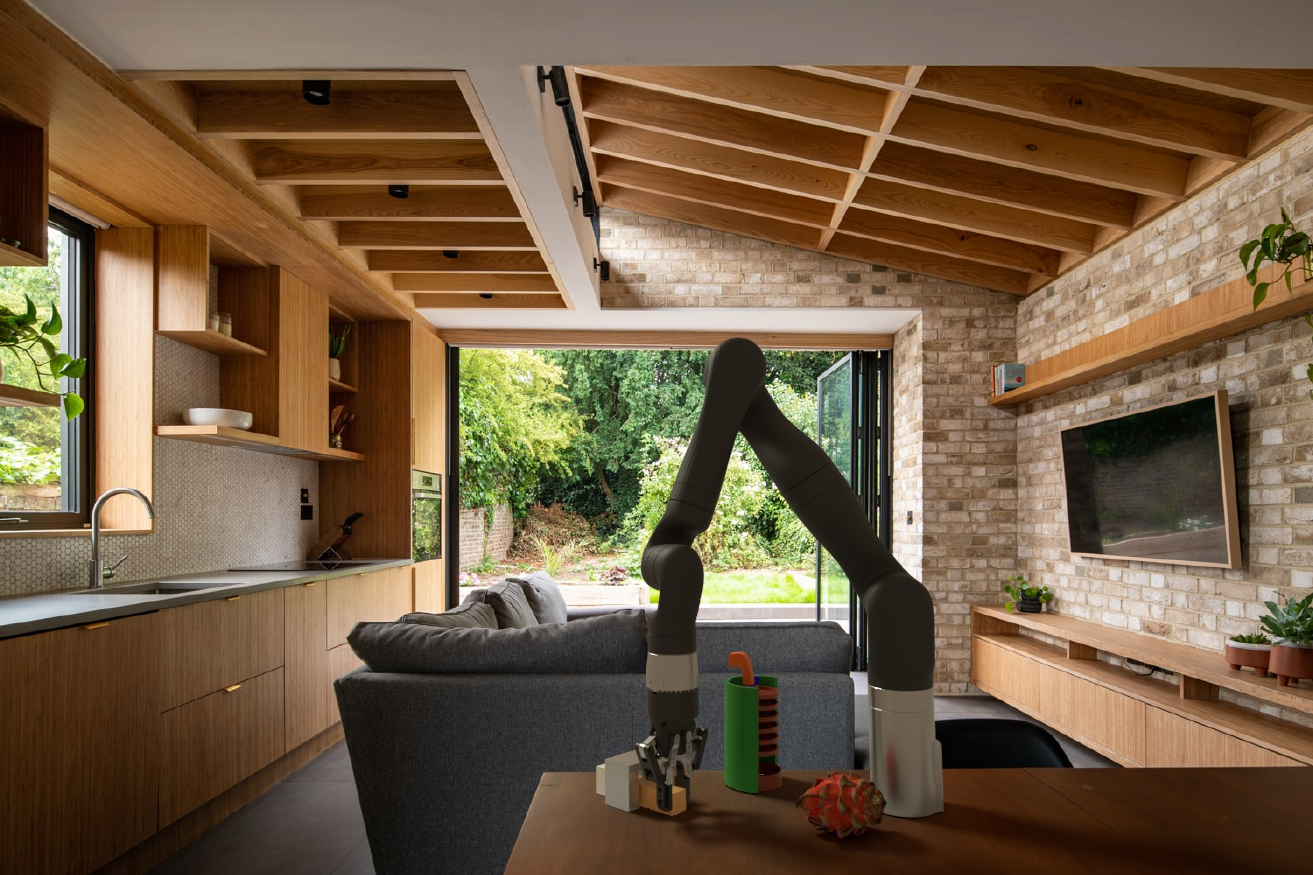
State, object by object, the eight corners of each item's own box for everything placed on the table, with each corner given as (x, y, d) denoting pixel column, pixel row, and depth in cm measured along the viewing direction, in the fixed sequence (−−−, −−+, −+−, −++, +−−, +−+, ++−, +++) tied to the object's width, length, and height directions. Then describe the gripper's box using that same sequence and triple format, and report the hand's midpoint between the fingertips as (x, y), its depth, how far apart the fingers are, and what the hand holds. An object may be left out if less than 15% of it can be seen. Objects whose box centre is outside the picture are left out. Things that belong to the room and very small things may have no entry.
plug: (688, 809, 122) (688, 780, 122) (669, 817, 119) (669, 787, 119) (615, 786, 132) (615, 760, 132) (596, 793, 129) (596, 766, 130)
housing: (672, 795, 128) (672, 751, 128) (629, 812, 121) (628, 765, 122) (648, 788, 131) (648, 745, 132) (604, 803, 125) (604, 758, 125)
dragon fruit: (896, 850, 111) (803, 858, 113) (884, 793, 118) (798, 801, 120) (889, 809, 107) (794, 818, 109) (878, 753, 114) (789, 762, 116)
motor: (779, 795, 128) (777, 659, 129) (720, 792, 129) (718, 658, 131) (783, 774, 138) (781, 648, 139) (728, 771, 139) (726, 647, 141)
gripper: (684, 672, 130) (685, 788, 129) (619, 687, 120) (619, 813, 119) (723, 679, 125) (724, 800, 124) (658, 695, 115) (659, 827, 114)
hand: (673, 806), depth 121 cm, fingers closed on plug, 3 cm apart
